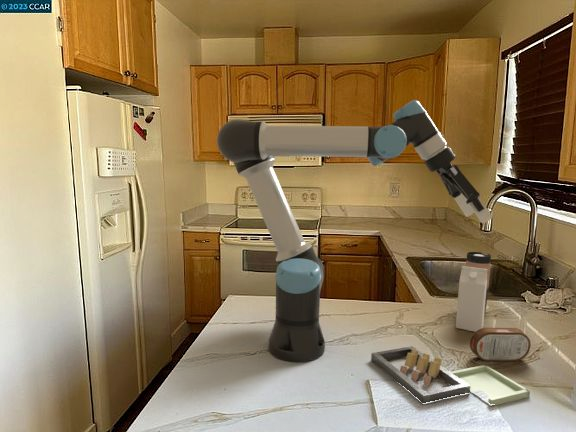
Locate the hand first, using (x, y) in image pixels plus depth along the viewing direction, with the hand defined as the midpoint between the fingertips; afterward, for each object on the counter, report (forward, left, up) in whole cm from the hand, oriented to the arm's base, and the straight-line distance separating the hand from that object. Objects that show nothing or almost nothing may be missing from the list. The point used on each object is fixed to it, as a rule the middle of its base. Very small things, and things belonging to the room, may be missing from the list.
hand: (478, 217), depth 109 cm
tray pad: (-14, -20, -36) cm, 43 cm away
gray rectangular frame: (-26, -11, -36) cm, 46 cm away
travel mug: (+22, +19, -36) cm, 46 cm away
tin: (0, -11, -36) cm, 38 cm away
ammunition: (-25, -11, -36) cm, 46 cm away
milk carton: (+9, +8, -36) cm, 38 cm away
